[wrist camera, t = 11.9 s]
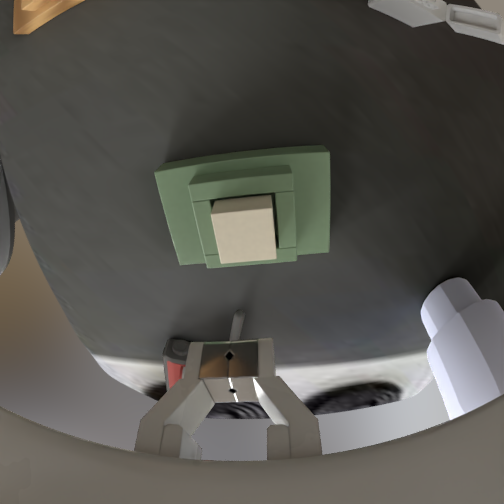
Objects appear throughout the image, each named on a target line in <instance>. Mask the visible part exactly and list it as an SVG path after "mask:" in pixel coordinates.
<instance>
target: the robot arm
mask: <svg viewBox="0 0 504 504" xmlns="http://www.w3.org/2000/svg"><path fill="white" fill-rule="evenodd" d="M257 401H259V402H260V404H261V405H262V407H263V408H264V410H265V411H266V412H267V414H268V415H269V417H270V418H271V419H272V421H273V422H274V423H275V425H270V426H269V427H268V428H267V460H263V461H214V460H201V455H202V448H201V447H200V446H199V445H198V444H197V443H196V442H195V441H194V440H193V439H192V438H191V436H192V435H193V433H194V432H195V431H196V429H197V428H198V427H199V425H200V424H201V422H202V421H203V420H204V418H205V417H206V416H207V414H208V413H209V411H210V410H211V409H212V407H213V406H214V404H215V403H220V402H257ZM0 504H504V394H503V395H501V396H499V397H497V398H495V399H494V400H492V401H490V402H488V403H486V404H484V405H482V406H480V407H478V408H476V409H474V410H472V411H470V412H467V413H465V414H463V415H461V416H458V417H456V418H454V419H451V420H449V421H447V422H444V423H441V424H439V425H436V426H434V427H431V428H428V429H426V430H423V431H420V432H417V433H414V434H411V435H407V436H405V437H401V438H398V439H394V440H391V441H387V442H383V443H380V444H376V445H371V446H367V447H363V448H358V449H353V450H348V451H343V452H337V453H331V454H325V455H322V447H321V439H320V431H319V424H318V419H317V418H316V417H315V416H314V415H313V414H312V413H311V411H310V410H309V409H308V408H307V407H306V406H305V405H304V404H303V403H302V401H301V400H300V399H299V398H298V397H297V396H296V395H295V394H294V392H293V391H292V390H291V389H290V388H289V387H288V386H287V384H286V383H285V382H284V381H283V380H282V379H281V378H280V376H276V367H275V357H274V347H273V338H265V339H249V340H235V341H225V342H191V344H190V346H189V350H188V356H187V361H186V367H185V372H184V378H183V379H179V380H178V381H177V382H176V383H175V384H174V385H173V386H172V388H171V389H170V390H169V391H168V392H167V393H166V394H165V395H164V396H163V397H162V398H161V399H160V400H159V401H158V402H157V403H156V404H155V405H154V406H153V407H152V409H150V411H149V412H148V413H147V414H146V415H145V416H144V417H143V418H142V419H141V420H140V425H139V429H138V434H137V439H136V444H135V449H134V451H130V450H125V449H120V448H116V447H111V446H107V445H103V444H99V443H95V442H92V441H88V440H84V439H81V438H78V437H74V436H71V435H68V434H65V433H62V432H59V431H57V430H54V429H51V428H48V427H46V426H43V425H41V424H38V423H36V422H33V421H31V420H28V419H26V418H24V417H21V416H19V415H17V414H15V413H13V412H11V411H8V410H6V409H5V408H3V407H1V406H0Z"/></svg>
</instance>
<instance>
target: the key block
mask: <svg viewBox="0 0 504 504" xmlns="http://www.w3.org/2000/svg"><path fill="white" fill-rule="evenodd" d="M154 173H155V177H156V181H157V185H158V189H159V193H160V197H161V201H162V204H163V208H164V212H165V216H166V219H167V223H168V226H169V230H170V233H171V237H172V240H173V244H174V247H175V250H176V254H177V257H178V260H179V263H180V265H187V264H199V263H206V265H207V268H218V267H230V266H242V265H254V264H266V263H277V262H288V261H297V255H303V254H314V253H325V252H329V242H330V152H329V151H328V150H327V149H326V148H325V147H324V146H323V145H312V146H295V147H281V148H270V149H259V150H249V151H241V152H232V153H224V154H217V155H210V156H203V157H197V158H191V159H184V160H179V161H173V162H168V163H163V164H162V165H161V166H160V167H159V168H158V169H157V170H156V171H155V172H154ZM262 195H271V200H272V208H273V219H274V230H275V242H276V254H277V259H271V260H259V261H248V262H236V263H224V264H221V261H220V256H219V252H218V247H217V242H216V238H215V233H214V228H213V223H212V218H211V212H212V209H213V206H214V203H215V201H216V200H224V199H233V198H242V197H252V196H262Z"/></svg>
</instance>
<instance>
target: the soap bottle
mask: <svg viewBox="0 0 504 504" xmlns="http://www.w3.org/2000/svg"><path fill="white" fill-rule="evenodd" d="M421 317H422V322H423V324H424V326H425V328H426V330H427V332H428V334H429V336H430V338H431V343H430V345H429V347H428V349H427V357H428V362H429V364H430V367H431V369H432V372H433V374H434V377H435V379H436V382H437V385H438V387H439V390H440V393H441V395H442V398H443V401H444V404H445V406H446V409H447V412H448V415H449V418H450V420H451V419H454V418H456V417H458V416H461V415H463V414H465V413H467V412H470V411H472V410H474V409H476V408H478V407H480V406H482V405H484V404H486V403H488V402H490V401H492V400H494V399H495V398H497V397H499V396H501V395H503V394H504V311H503V310H502V308H501V307H500V306H499V304H498V303H497V302H496V301H493V300H489V299H485V300H481V299H480V297H479V296H478V294H477V293H476V292H475V290H474V289H473V287H472V286H471V285H470V283H469V282H468V281H467V280H466V279H463V278H460V277H457V278H453V279H448V280H446V281H445V282H443V283H441V284H439V285H438V286H437V287H436V288H435V289H434V290H433V291H431V292H430V294H429V295H428V297H427V298H426V300H425V301H424V303H423V306H422V309H421Z"/></svg>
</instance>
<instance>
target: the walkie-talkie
mask: <svg viewBox="0 0 504 504" xmlns="http://www.w3.org/2000/svg"><path fill="white" fill-rule="evenodd" d="M244 318H245V313H244V312H243V311H242V310H237V311H236V312H235V314H234V318H233V323H232V328H231V333H230V337H229V341H235V340H239V338H240V334H241V330H242V326H243V322H244ZM190 344H191V342H187V341H185V340H183V339H179V340H175V339H169V340H167V343H166V347H164V351H163V362H164V372H165V380H166V387H167V388H166V389H167V392H168V391H169V390H170V389H171V388H172V386H173V385H174V384H175V383H176V382H177V381H178V380H179V379H183V378H184V372H185V367H186V361H187V356H188V350H189V346H190Z"/></svg>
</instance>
